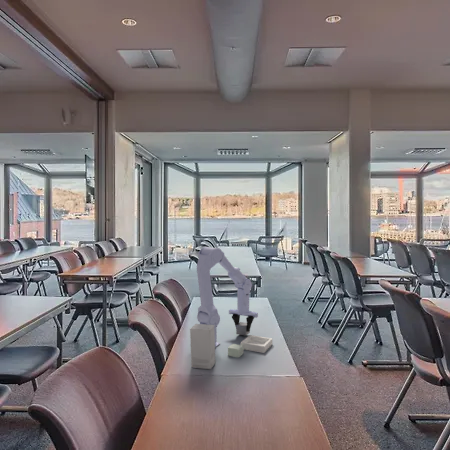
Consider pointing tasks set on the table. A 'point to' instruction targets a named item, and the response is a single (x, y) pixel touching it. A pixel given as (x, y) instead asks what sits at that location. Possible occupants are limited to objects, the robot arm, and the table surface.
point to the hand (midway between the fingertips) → (243, 330)
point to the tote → (257, 343)
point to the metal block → (242, 329)
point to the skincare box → (202, 346)
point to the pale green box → (235, 350)
